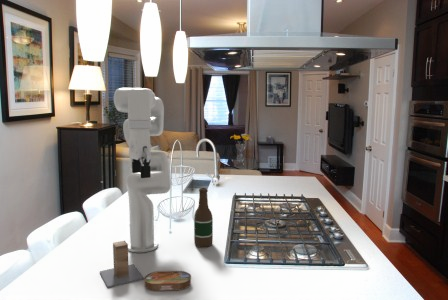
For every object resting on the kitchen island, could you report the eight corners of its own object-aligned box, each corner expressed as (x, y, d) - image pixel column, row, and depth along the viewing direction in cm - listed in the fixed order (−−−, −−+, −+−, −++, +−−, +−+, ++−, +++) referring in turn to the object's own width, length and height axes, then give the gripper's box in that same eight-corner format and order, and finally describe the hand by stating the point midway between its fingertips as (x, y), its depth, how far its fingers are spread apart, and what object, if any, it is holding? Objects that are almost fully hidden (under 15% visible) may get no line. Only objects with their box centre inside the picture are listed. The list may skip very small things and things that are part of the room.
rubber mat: (99, 272, 127) (99, 271, 127) (133, 265, 133) (133, 263, 133) (107, 288, 117) (107, 286, 117) (144, 279, 123) (144, 277, 123)
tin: (191, 270, 123) (190, 281, 115) (191, 279, 124) (190, 290, 115) (146, 271, 123) (142, 281, 114) (146, 280, 123) (142, 291, 115)
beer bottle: (192, 247, 150) (191, 190, 146) (196, 240, 157) (196, 186, 154) (210, 248, 148) (210, 191, 145) (214, 241, 156) (214, 186, 153)
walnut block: (114, 273, 126) (112, 242, 124) (125, 270, 128) (124, 240, 126) (117, 278, 122) (115, 246, 121) (128, 275, 124) (127, 244, 123)
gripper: (121, 124, 128) (123, 171, 131) (136, 127, 114) (137, 181, 116) (142, 123, 132) (143, 169, 134) (159, 126, 117) (160, 178, 120)
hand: (141, 175), depth 125 cm, fingers open, 9 cm apart
